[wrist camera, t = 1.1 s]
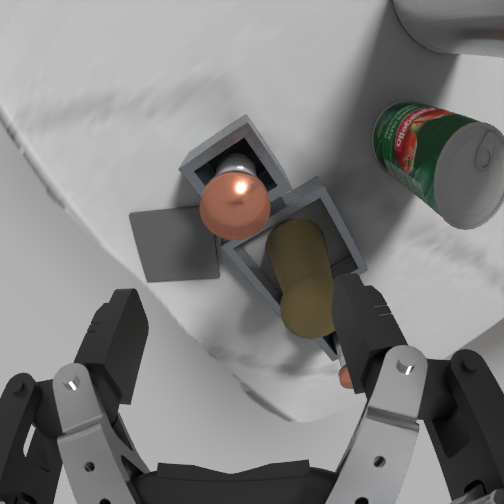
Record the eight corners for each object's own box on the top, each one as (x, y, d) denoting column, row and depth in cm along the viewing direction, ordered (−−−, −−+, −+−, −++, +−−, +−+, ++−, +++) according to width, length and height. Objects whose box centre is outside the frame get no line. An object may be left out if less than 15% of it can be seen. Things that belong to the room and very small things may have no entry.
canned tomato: (423, 186, 28) (487, 239, 18) (360, 166, 27) (418, 217, 17) (447, 117, 24) (523, 148, 14) (383, 87, 23) (458, 103, 13)
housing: (168, 167, 26) (155, 186, 22) (269, 99, 23) (276, 104, 19) (308, 338, 39) (315, 369, 34) (381, 301, 36) (395, 329, 32)
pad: (130, 213, 28) (128, 215, 28) (210, 205, 28) (209, 207, 28) (148, 278, 33) (147, 281, 32) (219, 274, 33) (219, 277, 32)
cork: (327, 263, 32) (356, 340, 23) (271, 274, 33) (283, 356, 24) (321, 213, 29) (357, 283, 20) (260, 225, 30) (270, 301, 20)
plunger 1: (207, 149, 22) (195, 178, 16) (260, 145, 22) (269, 173, 16) (212, 197, 24) (204, 242, 18) (263, 194, 24) (271, 237, 18)
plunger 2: (328, 317, 32) (344, 369, 26) (363, 313, 32) (383, 362, 26) (324, 341, 34) (337, 391, 28) (356, 337, 34) (373, 384, 28)
